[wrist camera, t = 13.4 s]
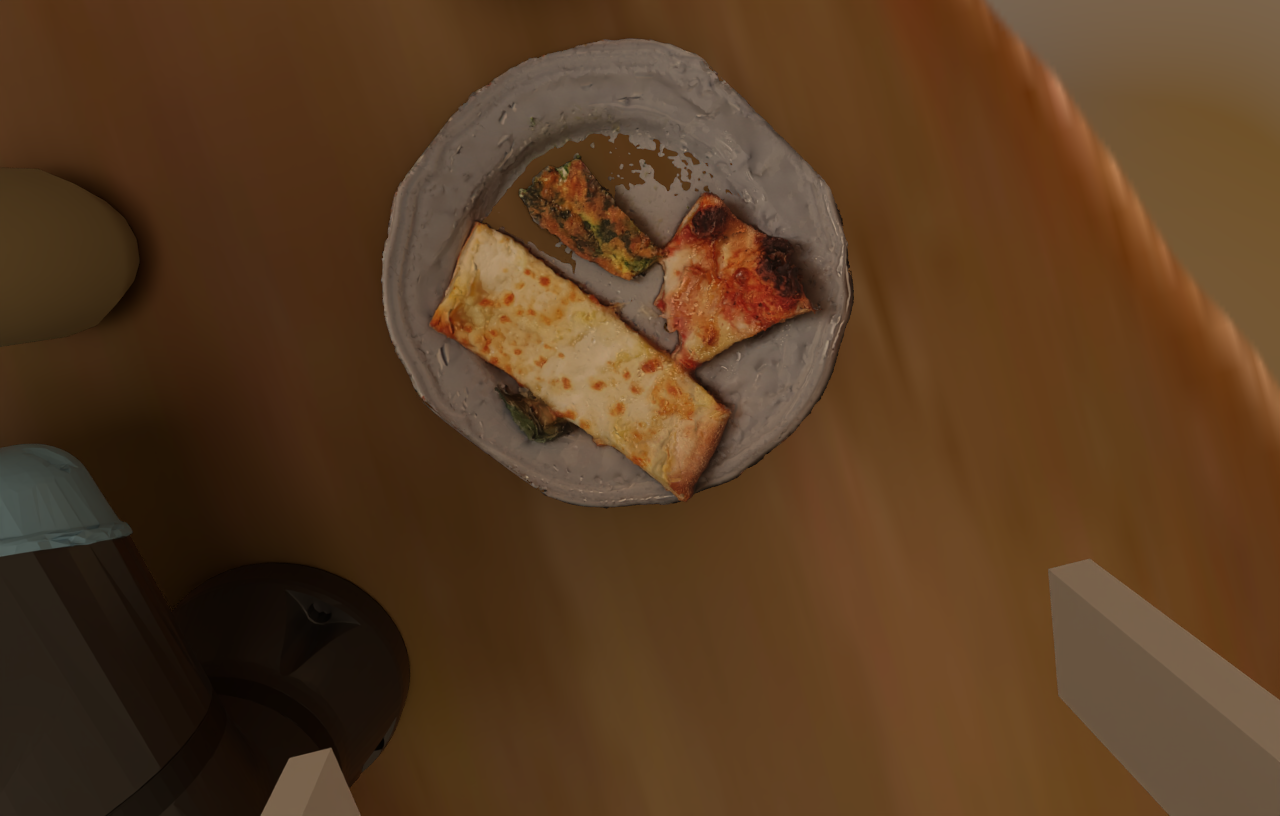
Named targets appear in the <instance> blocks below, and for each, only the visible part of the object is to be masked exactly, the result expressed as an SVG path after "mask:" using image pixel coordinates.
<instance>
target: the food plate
mask: <svg viewBox="0 0 1280 816" xmlns="http://www.w3.org/2000/svg"><path fill="white" fill-rule="evenodd" d="M703 61H704V62H705V63H706V61H705V60H704V59H703V58H701V57H699V56H698V55H697V54H695V53H691V52H688V51H685V50H682V49H681V48H679V47H677V46H674V45H671V44H665V43H660V42H657V41H654V40H644V39H622V40H616V41H615V40H600V41H598V42H597V43H596V42H593V43H589V44H588V43H587V44H584V45H579V46H576V47H575V48H571V49H569V50H564V51H563V52H562V51H560V52H559V51H558V52H556V53H552V54H547V55H543V56H542V57H539V58H536V57H535V58H529V59H528V60H527V61H526V62H525V63H524V62H522V63H521V64H520V65H517V67H516V66H515V67H514V68H510V69H509V70H508V71H507V72H505V73H504V74H502V75H500V76H499V77H498V78H496V79H495V78H494V80H493V81H492V82H491V83H490V84H488V85H487V86H485V87H483V88H480V89H479V90H477V91H476V92H474V93H472V94H471V95H469V97H470V96H472V97H470V98H469V100H468V101H467V103H463V106H460V107H459V110H458V111H457V112H456V113H454V114H453V115H452V116H451V117H450V119H449V120H448V121H447V123H446V124H445V125H444V127H443V128H442V129H441V130H440V132H439V133H438V135H437V136H436V137H435V138H434V139H433V141H432V142H431V143H430V145H429V146H428V147H427V149H426V150H425V151H424V153H423V154H422V155H421V157H420V158H419V159H418V160H417V162H416V163H415V165H414V166H413V167H412V168H411V170H410V171H409V172H410V173H408V174H407V175H406V176H405V177H406V178H405V179H404V180H403V181H401V183H400V184H399V187H398V188H397V191H396V193H395V195H394V200H393V204H392V207H391V216H390V219H391V220H390V221H389V223H388V225H389V227H388V235H389V237H388V239H386V240H387V241H386V242H385V245H384V247H385V249H384V250H385V251H383V252H382V253H383V258H382V261H383V270H382V272H383V275H382V279H381V283H382V284H383V285H382V287H383V290H382V294H383V295H382V296H383V297H382V298H383V300H382V302H383V305H384V306H385V308H384V315H385V316H386V318H385V320H386V323H387V326H388V329H389V332H390V337H391V343H393V344H394V345H395V346H394V347H395V352H396V353H397V355H399V356H398V357H399V359H400V360H401V361H402V363H403V365H404V366H405V369H406V370H407V372H408V374H409V376H410V379H411V381H412V383H413V386H414V388H415V391H416V392H419V393H418V394H419V396H420V397H421V398H423V400H424V402H425V401H426V402H429V404H430V405H431V406H432V407H434V408H433V409H434V410H436V409H437V410H436V412H437V413H436V412H435V411H434V410H433V409H432V408H430V407H429V406H428V408H429V409H431V410H432V411H433V412H434V413H435V414H436V415H438V416H439V417H440V418H441V419H442V420H444V421H445V422H446V423H448V424H449V425H450V426H452V425H451V424H453V425H454V426H455V427H456V428H457V429H456V428H455V427H454V426H452V427H453V428H454V429H455V430H457V431H458V432H459V433H460V434H462V435H463V436H464V437H466V438H467V439H468V440H470V441H471V442H472V443H474V444H475V445H476V446H478V447H479V448H480V449H481V450H483V451H484V452H485V453H487V454H489V455H490V456H491V457H492V458H494V459H495V460H497V461H498V462H499V463H501V464H502V465H504V466H505V467H506V468H508V469H509V470H510V471H512V472H513V473H515V472H516V473H518V474H516V473H515V474H516V475H517V476H519V477H520V478H523V480H525V481H526V482H527V480H528V481H529V482H531V484H530V485H532V486H533V487H534V488H538V487H540V488H539V489H541V490H542V489H544V493H543V492H541V493H543V494H544V495H546V496H549V497H552V498H556V499H559V500H560V501H563V502H567V503H569V504H572V505H578V506H586V507H603V508H608V507H620V506H632V505H646V504H660V505H661V504H663V505H665V504H670V503H677V502H680V501H685V502H687V500H689V499H690V498H691V497H692V496H693V494H695V493H698V492H700V491H703V490H705V489H708V488H711V487H715V486H718V485H720V484H723V483H726V482H729V481H731V480H733V479H735V478H737V477H739V476H740V475H741V474H742V473H743V471H744V470H746V468H750V467H751V466H753V465H755V464H757V463H758V462H759V461H760V460H762V459H763V457H764V456H765V454H768V453H769V452H771V450H773V448H775V447H776V446H778V445H780V444H781V443H782V442H783V441H785V440H786V439H787V438H788V437H789V436H790V435H791V434H792V433H793V432H794V431H795V430H796V429H797V427H798V426H799V425H800V423H801V422H802V421H803V420H804V419H805V418H806V417H807V416H808V415H809V414H810V413H811V410H812V409H813V407H814V405H815V404H816V403H817V402H818V401H819V400H820V399H821V396H822V395H823V393H824V391H825V389H826V387H827V384H828V381H829V380H830V378H831V375H832V373H833V370H834V366H835V363H836V359H837V356H838V352H839V348H840V344H841V342H842V339H843V336H844V330H845V328H846V325H847V323H848V321H849V318H850V315H851V311H852V306H853V303H854V301H853V300H854V296H853V293H854V290H853V280H852V276H851V275H852V274H851V275H850V273H849V272H848V268H849V267H850V266H849V265H848V264H849V261H848V249H847V246H848V243H847V241H846V238H845V235H844V233H843V228H842V226H844V225H843V222H842V218H841V215H840V213H839V212H840V211H839V210H838V209H837V204H836V203H835V200H834V197H833V195H832V193H831V190H830V188H829V186H827V185H826V182H825V181H824V180H823V179H822V178H821V176H820V175H818V174H817V172H815V171H814V170H813V168H812V167H811V166H810V165H809V164H808V163H807V162H806V161H805V160H804V159H803V158H802V157H801V156H800V155H799V154H798V153H797V152H796V151H795V150H794V149H793V148H792V147H791V146H790V145H789V144H788V143H787V142H786V141H785V140H784V139H783V138H782V137H781V136H780V135H779V134H778V133H777V132H775V131H774V130H773V128H772V127H771V126H770V125H769V124H768V123H767V122H766V121H765V120H764V119H763V118H762V117H761V116H760V115H759V114H757V113H756V112H755V110H754V109H753V108H752V107H751V106H750V105H749V104H748V103H747V101H746V100H745V99H744V98H743V97H742V96H741V95H740V94H738V93H737V92H736V91H735V90H734V89H733V88H731V86H729V85H728V83H726V82H725V80H724V81H723V82H722V81H719V79H718V77H717V74H718V73H717V72H716V71H711V70H710V69H709V65H708V64H707V63H706V64H707V65H708V66H707V65H706V64H705V63H704V62H703ZM722 79H723V78H722ZM473 94H475V95H473ZM592 133H596V134H600V133H601V134H603V135H605V136H608V135H609V136H610V137H611V139H609V140H608V141H610V142H613V143H614V139H615V138H617V135H618V133H622V134H624V135H629V141H630V142H631V143H633V144H634V145H635V146H636V145H638V144H640V146H639V147H637V149H640V148H642V149H644V148H646V149H649V150H655V149H656V144H655V142H653V139H658V140H659V141H660V143H662V144H660V151H661V152H659V153H658V155H659V156H660V157H662V156H664V155H665V154H664V153H663V154H662V152H663V148H664V147H666V149H668V150H672V151H675V152H677V153H678V155H677V156H675V157H671V156H669V157H668V158H669V159H674V161H672V162H673V163H674V166H677V168H681V169H682V170H681V175H682V177H681V180H682V181H687V182H690V183H691V187H690V189H689V190H687V191H685V190H683V188H681V185H682V183H680V180H679V179H678V178H677V177H676V178H674V182H673V183H672V184H671V186H670V190H669V191H668V192H667V190H666V188H665V187H664V186H663V185H661V184H659V183H658V181H655V179H653V177H654V170H653V168H652V167H651V166H650V165H647V164H645V160H643V159H641V160H640V161H639V162H640V166H641V167H642V169H641V170H632V173H635V172H640V178H642V179H643V180H644V181H646V183H645V184H643V185H640V184H639V185H637V184H636V185H635V186H633V185H632V184H631V183H629V186H630V190H627V189H625V187H624V185H623V184H621V185H619V186H615V192H616V194H615V199H613V198H612V195H611V194H610V193H609V192H607V191H609V189H607V190H606V188H604V187H602V186H601V185H600V184H599V183H598V181H597V180H596V178H595V177H594V175H592V174H591V172H590V171H589V170H588V168H587V167H586V166H585V164H584V163H583V162H582V161H581V156H579V154H578V153H576V154H575V155H574V160H572V161H571V162H566V164H564V165H563V166H561V167H559V168H556V167H554V166H547V167H546V168H545V169H543V170H542V171H541V172H540V173H539V174H538V175H537V176H535V177H533V179H532V183H533V185H531V186H529V188H528V189H526V190H525V189H519V196H520V197H521V199H522V200H523V202H525V204H524V205H526V206H527V207H528V209H529V213H530V215H531V216H532V218H533V221H534V222H536V223H537V224H539V225H540V227H541V228H542V229H544V228H547V229H548V231H549V232H550V233H551V234H555V235H557V236H558V237H559V239H560V241H561V242H559V243H557V244H556V246H557V247H560V246H561V245H560V244H565V245H567V248H566V249H565V251H566V252H567V253H570V251H573V254H572V258H571V259H574V260H576V268H575V274H573V273H572V272H573V271H572V266H571V265H570V264H567V263H561V261H560V260H557V259H556V258H554V257H550V256H549V255H547V254H545V253H544V252H543V251H539V250H538V249H537V248H536V246H535V245H534V244H533V243H531V242H528V244H525V243H524V241H523V240H522V239H519V238H518V237H515V236H514V235H512V234H510V233H508V232H506V231H504V229H505V228H504V227H500V228H499V231H497V230H495V229H493V228H491V227H490V225H488V224H486V223H485V224H482V221H483V219H485V218H486V217H487V216H488V215H489V214H490V212H491V211H492V208H493V206H495V205H496V204H497V202H498V201H499V200H500V198H501V197H502V196H503V195H504V194H505V192H506V191H507V189H508V188H510V187H511V186H512V184H513V182H514V181H515V180H516V179H517V178H518V176H520V175H521V174H522V173H523V172H524V171H525V168H526V166H527V165H528V164H529V163H530V162H531V161H532V160H533V159H535V158H537V157H539V156H541V155H543V154H545V153H546V152H547V151H548V150H550V149H551V148H554V146H556V148H560V147H562V146H563V145H564V144H565V143H566V142H567V141H571V140H569V139H572V141H575V142H579V141H580V140H581V141H583V140H584V139H585V138H586V137H587V136H588V135H589V134H592ZM591 147H592V148H594V142H593V143H592V144H591ZM615 149H616V148H615ZM685 152H690V153H692V154H693V156H694V157H695V158H696V159H698V160H699V162H700V164H698V165H693V163H692V161H691V158H690V157H686V156H685V155H684V153H685ZM610 153H612V152H610ZM629 154H630V153H629ZM679 157H680V158H679ZM682 159H683V160H686V161H687V162H688V166H686V165H685V164H684V163H683V162H682V161H681V160H682ZM702 162H703V163H702ZM673 163H672V164H673ZM705 163H708V167H707V166H706V164H705ZM730 163H732V164H733V165H732V166H731V165H730ZM629 165H631V166H632V165H633V164H629ZM685 166H686V167H687V169H688V168H689V169H690V170H691V171H692V174H691V176H692V177H691V179H690V180H689V179H688V177H685V176H687V175H688V172H687V171H686V170H687V169H686V170H685V169H683V168H684V167H685ZM620 169H623V164H621V165H620ZM702 171H706V173H707V174H703V173H702ZM647 173H650V174H647ZM708 173H711V174H712V175H713V178H712V179H711V177H710V175H709V174H708ZM611 174H612V173H611ZM617 176H618V177H620V175H617ZM677 176H679V174H677ZM698 178H700V181H698ZM608 179H609V180H610V181H611V179H612V177H608ZM613 179H614V177H613ZM621 179H623V178H621ZM706 185H708V188H709V190H710V191H709V192H706V191H704V190H703V188H704V186H706ZM695 188H697V189H699V191H698V192H695ZM726 189H729V190H730V191H731V193H732V194H733V195H731V194H730V193H727V194H726V192H725V190H726ZM605 190H606V191H605ZM674 194H678V196H674ZM734 194H735V195H734ZM734 200H735V201H734ZM632 220H634V222H632ZM538 251H539V252H538ZM537 255H538V256H537ZM850 272H851V271H850ZM565 278H566V279H565ZM631 300H632V302H631ZM666 322H667V328H666V329H667V330H669V332H670V333H668V332H666V331H665V330H664V324H665V323H666ZM671 332H673V333H671ZM416 396H417V395H416ZM422 402H423V401H422ZM424 402H423V403H424ZM424 404H425V403H424ZM426 406H427V405H426ZM438 413H439V414H440V415H441V416H442V417H441V416H440V415H439V414H438ZM443 417H444V418H443ZM445 419H446V420H447V421H448V422H447V421H446V420H445ZM458 429H459V430H460V431H461V432H460V431H459V430H458ZM463 433H464V434H465V435H466V436H465V435H464V434H463ZM510 467H511V469H512V470H511V469H510ZM513 470H514V471H515V472H514V471H513ZM527 483H528V482H527Z"/></svg>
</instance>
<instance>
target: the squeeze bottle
mask: <svg viewBox="0 0 1280 816" xmlns="http://www.w3.org/2000/svg"><path fill="white" fill-rule="evenodd" d="M139 263H140V259H139V252H138V245H137V239H136V237H135V235H134V234H133V232H132V230H131V228H130V226H129V225H128V223H127V221H126V219H125V218H124V217H123V216H122V215H121V214H120V213H119V212H117V211H116V210H115V209H114V208H113V207H112V206H111V205H109V204H108V203H107V202H106V201H104V200H103V199H101V198H99V197H97V196H95V195H94V194H92V193H90V192H88V191H86V190H85V189H83V188H81V187H79V186H77V185H76V184H74V183H71V182H69V181H67V180H64V179H62V178H59V177H57V176H54V175H52V174H50V173H47V172H45V171H42V170H40V169H29V168H0V347H2V346H9V345H15V344H22V343H29V342H35V341H42V340H49V339H55V338H62V337H68V336H71V335H73V334H76V333H78V332H81V331H84V330H86V329H89V328H91V327H94V326H96V325H98V324H99V323H100V321H101V320H102V319H103V318H104V317H105V316H106V315H107V314H108V313H109V312H110V311H111V310H112V309H113V307H114V306H115V305H116V304H117V303H118V302H119V300H120V299H121V298H122V297H123V295H124V294H125V293H126V291H127V290H128V289H129V287H130V286H131V285H132V283H133V282H134V280H135V276H136V273H137V269H138V266H139Z"/></svg>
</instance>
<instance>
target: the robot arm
mask: <svg viewBox="0 0 1280 816" xmlns="http://www.w3.org/2000/svg"><path fill="white" fill-rule="evenodd" d="M131 533H133V532H132V529H131V527H130V526H129V525H128V524H127V523H126V522H122V521H120V520H119V518H118V517H117V515H116V514H115V513H114V511H113V510H112V508H111V507H110V505H109V504H108V502H107V501H106V499H105V498H104V496H103V494H102V493H101V491H100V490H99V488H98V487H97V485H96V483H95V482H94V480H93V479H92V477H91V476H90V474H89V472H88V471H87V469H86V468H85V467H84V465H83V464H82V463H81V462H80V461H79V460H78V459H77V458H76V457H74V456H73V455H71V454H70V453H68V452H66V451H64V450H62V449H59V448H56V447H53V446H49V445H44V444H20V445H13V446H8V447H3V448H0V816H361V815H360V813H359V810H358V808H357V806H356V804H355V801H354V799H353V797H352V794H351V792H350V790H349V788H350V787H351V786H352V785H353V783H354V782H355V781H356V780H357V779H358V777H359V776H360V775H361V773H362V772H363V771H364V770H365V769H367V768H368V767H369V766H370V765H371V764H372V763H373V762H374V760H375V759H376V758H377V757H378V756H379V755H380V754H381V753H382V751H383V750H384V748H385V747H386V746H387V744H388V742H389V741H390V739H391V737H392V736H393V734H394V732H395V730H396V727H397V725H398V722H399V720H400V717H401V714H402V711H403V708H404V705H405V701H406V698H407V694H408V689H409V682H410V669H409V661H408V655H407V651H406V648H405V645H404V642H403V640H402V638H401V635H400V633H399V631H398V630H397V628H396V626H395V625H394V623H393V621H392V620H391V619H390V617H389V616H388V615H387V613H386V612H385V611H384V610H383V609H382V608H381V607H380V606H379V605H378V604H377V603H376V602H375V601H374V600H373V599H372V598H371V597H370V596H369V595H367V594H366V593H365V592H363V591H362V590H361V589H359V588H357V587H356V586H354V585H353V584H351V583H349V582H347V581H346V580H344V579H342V578H340V577H337V576H335V575H333V574H330V573H328V572H325V571H322V570H319V569H315V568H311V567H307V566H301V565H295V564H284V563H266V564H256V565H249V566H244V567H240V568H236V569H233V570H230V571H227V572H224V573H222V574H219V575H217V576H215V577H213V578H211V579H209V580H207V581H206V582H204V583H203V584H201V585H199V586H198V587H197V588H195V589H194V590H193V591H192V592H190V593H189V594H188V595H187V596H186V597H185V598H184V599H183V600H182V601H181V602H180V603H179V605H178V606H177V607H176V608H175V609H174V610H173V611H172V612H171V610H170V609H169V607H168V605H167V603H166V601H165V599H164V598H163V596H162V594H161V592H160V590H159V588H158V587H157V585H156V583H155V581H154V579H153V577H152V575H151V574H150V572H149V570H148V568H147V566H146V564H145V563H144V561H143V559H142V557H141V555H140V553H139V552H138V550H137V548H136V546H135V544H134V542H133V541H132V539H131V537H130V534H131ZM1048 573H1049V585H1050V597H1051V610H1052V622H1053V634H1054V647H1055V659H1056V671H1057V684H1058V696H1059V697H1060V698H1061V699H1062V700H1063V701H1064V702H1065V703H1066V704H1067V705H1068V706H1069V708H1070V709H1071V710H1072V711H1073V712H1074V713H1075V714H1076V715H1077V716H1078V717H1079V718H1080V719H1081V721H1082V722H1083V723H1084V724H1085V725H1086V726H1087V727H1088V728H1089V729H1090V730H1091V731H1092V732H1093V733H1094V735H1095V736H1096V737H1097V738H1098V739H1099V740H1100V741H1101V742H1102V743H1103V744H1104V745H1105V746H1106V747H1107V749H1108V750H1109V751H1110V752H1111V753H1112V754H1113V755H1114V756H1115V757H1116V758H1117V759H1118V760H1119V761H1120V763H1121V764H1122V765H1123V766H1124V767H1125V768H1126V769H1127V770H1128V771H1129V772H1130V773H1131V774H1132V775H1133V777H1134V778H1135V779H1136V780H1137V781H1138V782H1139V783H1140V784H1141V785H1142V786H1143V787H1144V788H1145V790H1146V791H1147V792H1148V793H1149V794H1150V795H1151V796H1152V797H1153V798H1154V799H1155V800H1156V801H1157V802H1158V804H1159V805H1160V806H1161V807H1162V808H1163V809H1164V810H1165V811H1166V812H1167V813H1168V814H1169V815H1170V816H1280V700H1279V699H1277V698H1276V697H1274V696H1273V695H1272V694H1270V693H1269V692H1268V691H1266V690H1265V689H1264V688H1262V687H1261V686H1260V685H1258V684H1257V683H1256V682H1254V681H1253V680H1252V679H1250V678H1249V677H1248V676H1246V675H1245V674H1244V673H1242V672H1241V671H1240V670H1238V669H1237V668H1236V667H1234V666H1233V665H1232V664H1230V663H1229V662H1228V661H1226V660H1225V659H1223V658H1222V657H1221V656H1219V655H1218V654H1217V653H1215V652H1214V651H1213V650H1211V649H1210V648H1209V647H1207V646H1206V645H1205V644H1203V643H1202V642H1201V641H1199V640H1198V639H1197V638H1195V637H1194V636H1193V635H1191V634H1190V633H1189V632H1187V631H1186V630H1185V629H1183V628H1182V627H1181V626H1179V625H1178V624H1177V623H1175V622H1174V621H1172V620H1171V619H1170V618H1168V617H1167V616H1166V615H1164V614H1163V613H1162V612H1160V611H1159V610H1158V609H1156V608H1155V607H1154V606H1152V605H1151V604H1150V603H1148V602H1147V601H1146V600H1144V599H1143V598H1142V597H1140V596H1139V595H1138V594H1136V593H1135V592H1134V591H1132V590H1131V589H1130V588H1128V587H1127V586H1126V585H1124V584H1123V583H1121V582H1120V581H1119V580H1117V579H1116V578H1115V577H1113V576H1112V575H1111V574H1109V573H1108V572H1107V571H1105V570H1104V569H1103V568H1101V567H1100V566H1099V565H1097V564H1096V563H1095V562H1093V561H1092V560H1091V559H1087V560H1083V561H1079V562H1075V563H1071V564H1067V565H1063V566H1059V567H1055V568H1051V569H1048Z"/></svg>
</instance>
